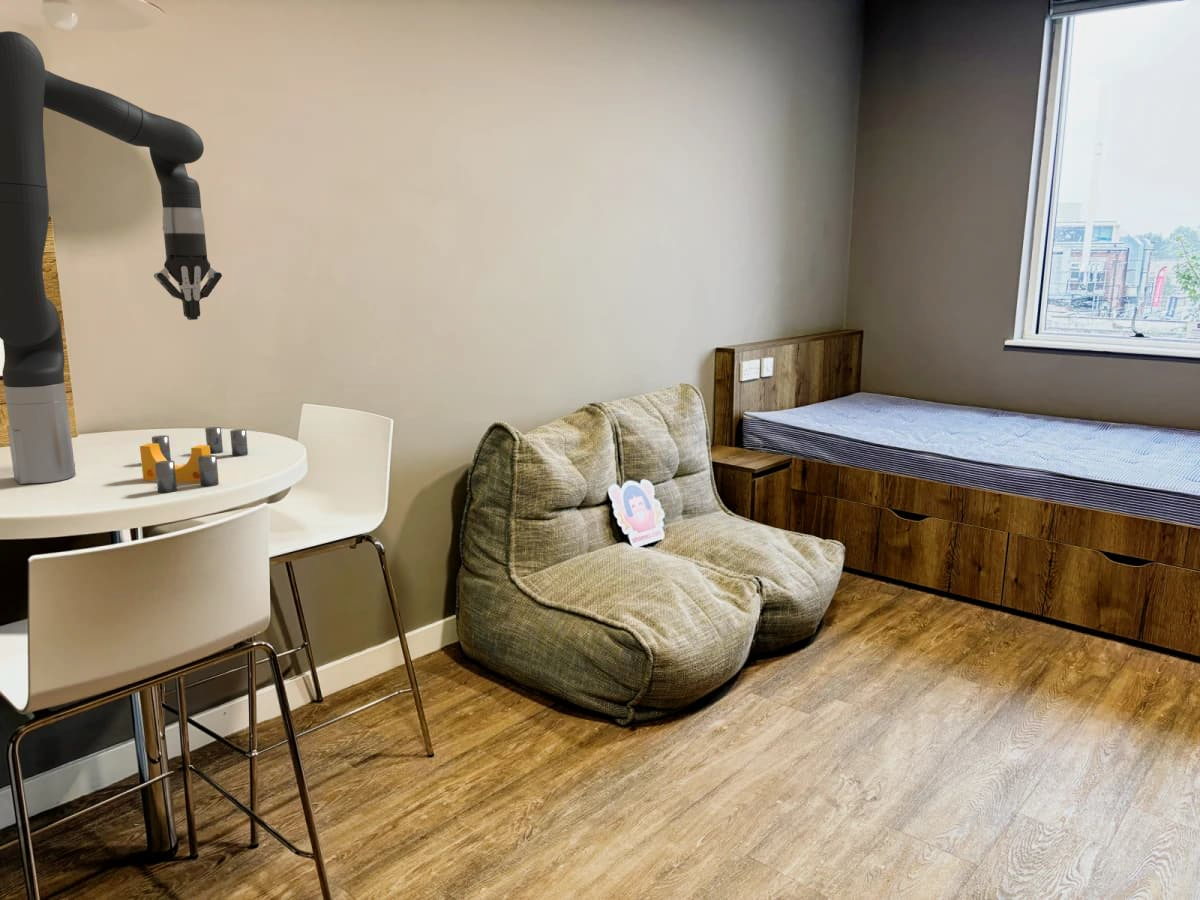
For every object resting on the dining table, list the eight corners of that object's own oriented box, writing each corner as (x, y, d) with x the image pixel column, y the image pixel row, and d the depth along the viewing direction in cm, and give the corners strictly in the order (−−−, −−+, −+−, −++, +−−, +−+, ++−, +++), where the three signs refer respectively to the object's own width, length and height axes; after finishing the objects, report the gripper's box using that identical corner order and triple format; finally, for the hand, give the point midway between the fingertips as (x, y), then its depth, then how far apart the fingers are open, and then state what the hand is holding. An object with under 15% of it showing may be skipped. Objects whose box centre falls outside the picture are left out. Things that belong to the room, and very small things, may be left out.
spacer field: (160, 493, 153) (157, 465, 152) (114, 463, 176) (112, 438, 175) (293, 473, 168) (291, 447, 167) (234, 448, 191) (232, 424, 190)
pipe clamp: (218, 478, 165) (215, 443, 164) (204, 483, 161) (201, 448, 159) (158, 475, 167) (155, 441, 166) (143, 481, 163) (139, 446, 161)
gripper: (153, 230, 173) (163, 321, 176) (224, 232, 181) (232, 319, 185) (143, 231, 178) (152, 320, 182) (212, 233, 187) (220, 317, 190)
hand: (192, 319), depth 183 cm, fingers closed
